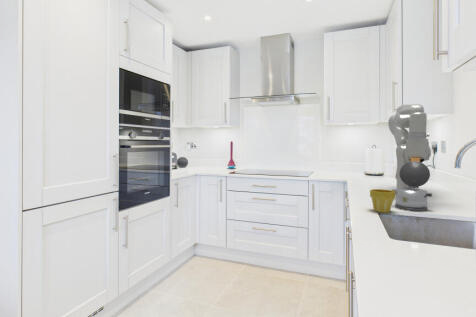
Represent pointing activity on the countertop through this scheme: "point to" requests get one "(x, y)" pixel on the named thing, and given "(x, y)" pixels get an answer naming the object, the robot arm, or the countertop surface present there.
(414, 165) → the lid
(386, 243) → the countertop surface
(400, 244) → the countertop surface
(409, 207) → the cooker
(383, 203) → the plant pot
